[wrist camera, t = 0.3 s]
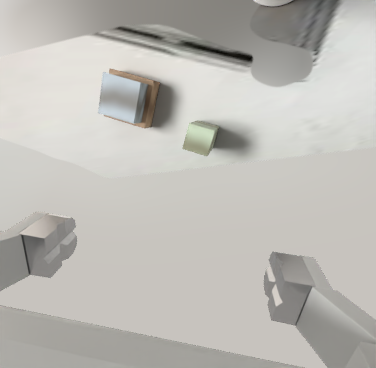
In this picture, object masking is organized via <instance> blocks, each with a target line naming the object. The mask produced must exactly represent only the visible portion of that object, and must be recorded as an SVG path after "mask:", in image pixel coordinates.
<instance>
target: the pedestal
mask: <svg viewBox="0 0 376 368" xmlns="http://www.w3.org/2000/svg"><path fill="white" fill-rule="evenodd" d="M159 85H160V83H159V82H156V81H153V80H149V79H146V78H142V77H139V76H135V75H132V74H128V73H125V72H121V71H117V70H114V69H110V70H109V73H106V72H103V77H102V86H101V94H100V103H99V111H98V113H100V114H103V115H104V116H106V117H109V118H112V119H116V120H119V121H122V122H125V123H129V124H132V125H135V126H138V127H142V128H149V127H151V124H152V119H153V114H154V110H155V105H156V100H157V95H158V90H159Z"/></svg>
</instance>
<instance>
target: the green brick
mask: <svg viewBox="0 0 376 368" xmlns="http://www.w3.org/2000/svg"><path fill="white" fill-rule="evenodd" d="M218 129H219V127H218V126H215V125H212V124H208V123H205V122H202V121H195V122H191V123H189V126H188V130H187V134H186V137H185V141H184V145H183V149H185V150H188V151H191V152H195V153H198V154H201V155H204V156H208V154H209V153H210V151H211V150H212V148H213V145H214V142H215V139H216V136H217V132H218Z"/></svg>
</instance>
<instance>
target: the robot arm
mask: <svg viewBox="0 0 376 368" xmlns="http://www.w3.org/2000/svg"><path fill="white" fill-rule="evenodd" d="M254 1H255V2H257V3H259V4H261V5H265V6H280V5H284V4H287V3H289V2H291V1H293V0H254ZM75 227H76V226H75V220H74V219H73V218H71V217H65V216H60V215H55V214H49V213H44V212H35V213H33V214H31V215H30V216H28V217H27V218H25V219H24V220H22V221H21V222H19V223H17V224H16V225H14V226H13V227H11V228H10V229H8V230H7V231H5V232H3V231H0V291H1V290H3V289H5V288H7V287H9V286H11V285H12V284H14V283H16V282H18V281H20V280H22V279H24V278H25V277H28V276H29V275H36V276H42V277H48V278H51V277H52V276H53V275H54V274H55V273H56V271H57V270H58V269H59V268H60V267H61V266H62V261H63V260H66V259H68V258H69V257H70V256H71V255H72V254H73V252H74V250H75V248H76V244H77V236H76V235H75V233H74V232H73V230H74V228H75ZM269 261H270V265H271V266H270V267H269V268H267V269H266V272H265V276H264V290H265V294H266V295H267V296H268V297H269V301H268V308H269V312H270V316H271V320H273V321H277V322H282V323H287V324H291V325H295V326H296V328H297V329H298V330H299V332H300V333H301V334H302V335H303V337H304V338H305V339H306V340H307V342H308V343H309V344H310V346H311V347H312V348H313V349H314V351H315V352H316V353H317V354H318V356H319V357H320V358H321V359H322V361H323V362H324V363H325V365H326V366H327V367H328V368H376V320H375V319H374V318H372V317H371V316H370V315H369V314H367V313H366V312H365V311H363V310H362V309H361V308H359V307H358V306H357V305H355V304H354V303H353V302H351V301H350V300H349V299H347V298H346V297H345V296H344V295H342V294H341V293H340V292H338V291H335V290H333V289H332V287H331V286H330V284H329V282H328V280H327V279H326V277H325V275H324V273H323V272H322V270H321V268H320V267H319V265H318V263H317V261H316V260H315V259H314V258H313V257H305V256H297V255H290V254H284V253H278V252H272V254H271V255H270V259H269ZM0 368H303V367H298V366H293V365H288V364H283V363H279V362H273V361H269V360H264V359H259V358H254V357H249V356H244V355H240V354H234V353H230V352H225V351H220V350H216V349H211V348H206V347H201V346H196V345H191V344H187V343H182V342H177V341H172V340H167V339H162V338H157V337H153V336H147V335H143V334H137V333H133V332H128V331H123V330H118V329H114V328H109V327H103V326H99V325H93V324H89V323H84V322H79V321H74V320H69V319H65V318H60V317H55V316H50V315H45V314H40V313H35V312H31V311H26V310H21V309H16V308H11V307H6V306H1V305H0Z"/></svg>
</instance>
